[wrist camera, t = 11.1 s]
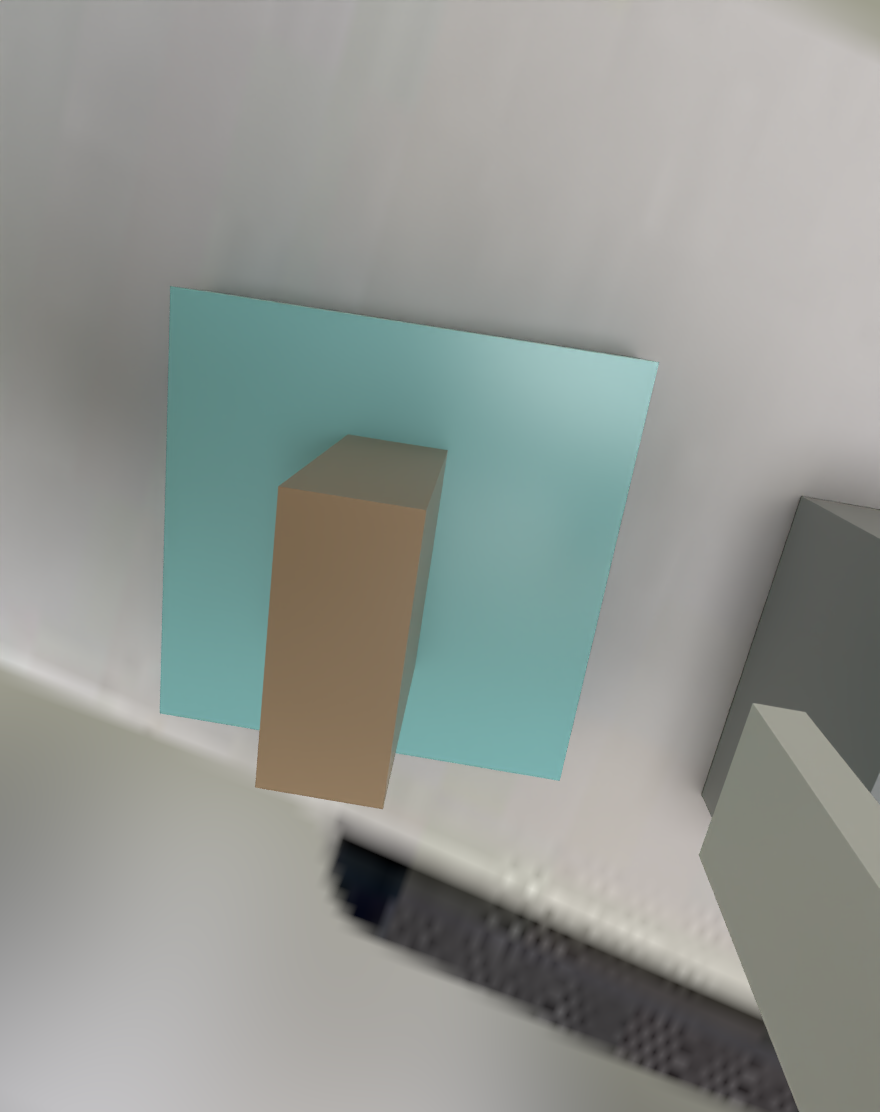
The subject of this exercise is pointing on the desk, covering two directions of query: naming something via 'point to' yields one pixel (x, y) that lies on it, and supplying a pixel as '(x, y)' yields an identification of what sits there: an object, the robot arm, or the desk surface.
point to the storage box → (818, 640)
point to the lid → (386, 537)
